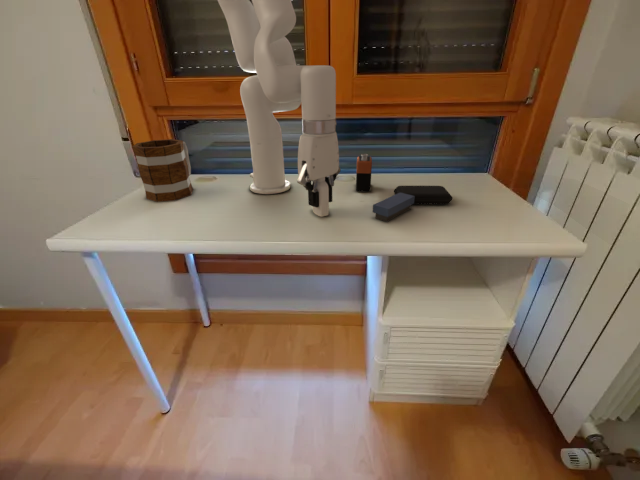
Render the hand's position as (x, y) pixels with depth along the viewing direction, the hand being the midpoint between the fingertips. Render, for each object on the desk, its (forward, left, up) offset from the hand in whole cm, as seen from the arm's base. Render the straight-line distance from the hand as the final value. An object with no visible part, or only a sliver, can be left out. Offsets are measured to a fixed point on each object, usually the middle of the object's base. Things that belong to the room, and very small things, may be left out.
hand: (320, 202), depth 80 cm
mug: (-46, -17, -3) cm, 49 cm away
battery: (-4, +23, -3) cm, 24 cm away
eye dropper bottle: (0, 0, -3) cm, 3 cm away
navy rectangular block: (+14, +12, -3) cm, 19 cm away
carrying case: (+14, +26, -3) cm, 30 cm away
